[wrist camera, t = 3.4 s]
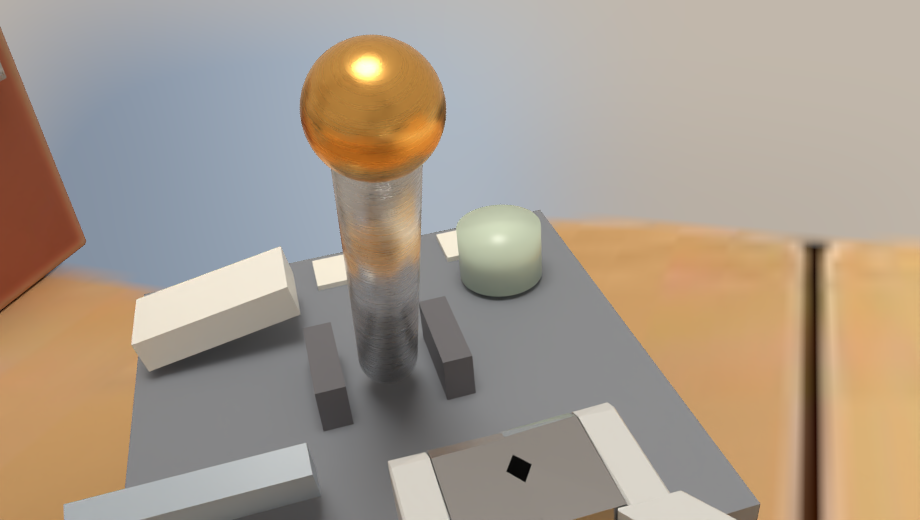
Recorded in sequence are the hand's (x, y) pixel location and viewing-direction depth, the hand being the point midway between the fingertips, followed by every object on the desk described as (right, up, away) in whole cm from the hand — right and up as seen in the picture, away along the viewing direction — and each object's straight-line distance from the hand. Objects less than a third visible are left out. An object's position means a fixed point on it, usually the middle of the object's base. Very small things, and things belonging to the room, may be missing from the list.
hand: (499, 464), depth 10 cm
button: (+1, +2, +19) cm, 19 cm away
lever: (-3, -1, +15) cm, 15 cm away
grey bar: (-7, -4, +10) cm, 13 cm away
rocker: (-9, +1, +16) cm, 19 cm away
